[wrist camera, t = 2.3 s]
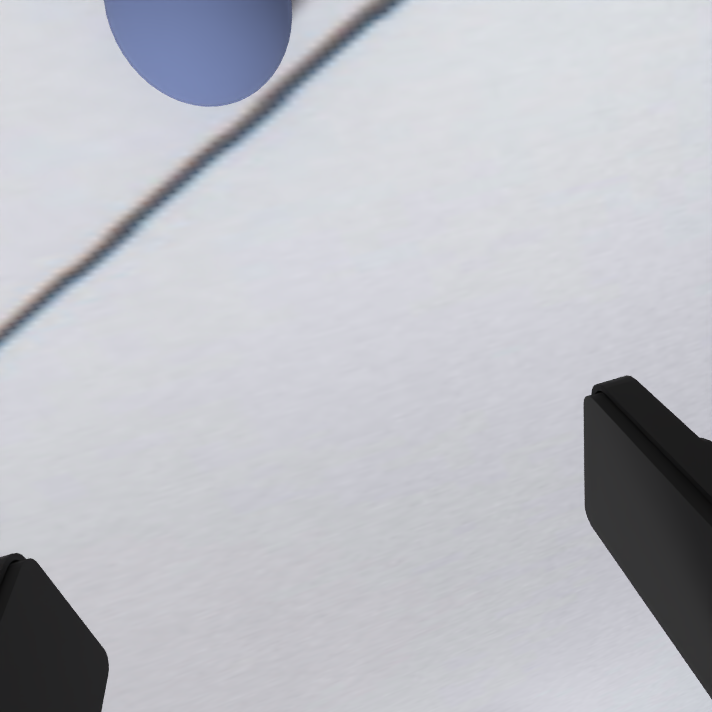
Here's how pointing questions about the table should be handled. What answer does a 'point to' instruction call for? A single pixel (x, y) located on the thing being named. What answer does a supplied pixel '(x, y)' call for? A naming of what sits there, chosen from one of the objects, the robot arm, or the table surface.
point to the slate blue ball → (202, 45)
